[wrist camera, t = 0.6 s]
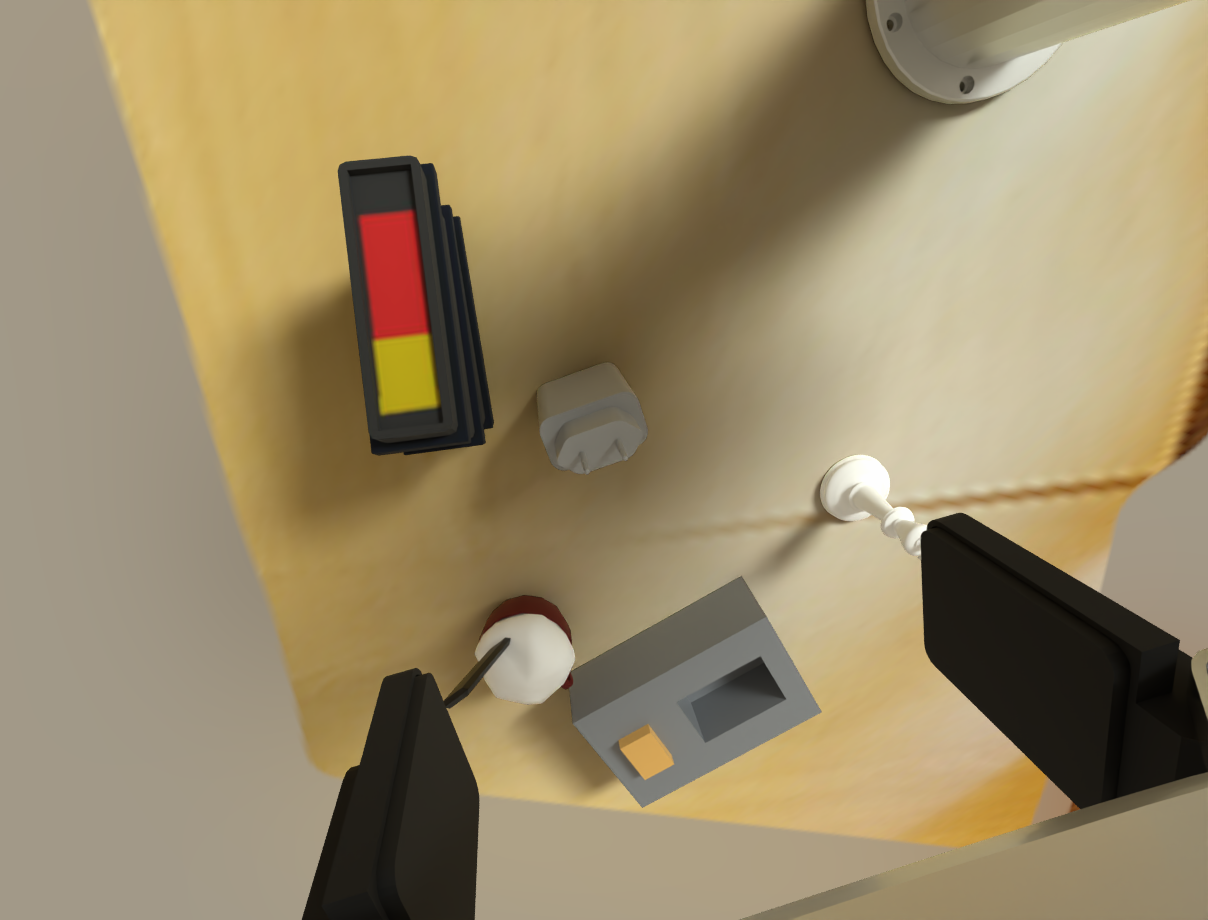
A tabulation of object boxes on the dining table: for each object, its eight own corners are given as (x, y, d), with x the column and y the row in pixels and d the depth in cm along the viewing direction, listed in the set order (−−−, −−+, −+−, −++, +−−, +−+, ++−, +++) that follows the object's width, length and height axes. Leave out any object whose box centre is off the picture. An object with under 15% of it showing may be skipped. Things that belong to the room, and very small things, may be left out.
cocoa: (585, 650, 46) (606, 790, 35) (504, 677, 46) (499, 826, 35) (542, 544, 42) (551, 662, 31) (455, 574, 42) (431, 702, 31)
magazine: (441, 473, 38) (361, 451, 23) (415, 264, 39) (321, 110, 24) (502, 464, 38) (464, 438, 23) (475, 257, 39) (420, 101, 24)
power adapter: (629, 404, 39) (672, 475, 28) (549, 432, 39) (561, 514, 28) (614, 358, 38) (653, 414, 27) (532, 387, 38) (537, 455, 27)
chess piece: (899, 480, 44) (1000, 548, 35) (850, 530, 45) (935, 609, 36) (855, 441, 42) (948, 502, 33) (805, 493, 43) (882, 567, 34)
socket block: (741, 576, 45) (771, 624, 40) (793, 665, 49) (826, 720, 44) (567, 673, 46) (573, 732, 41) (631, 753, 50) (644, 817, 45)
